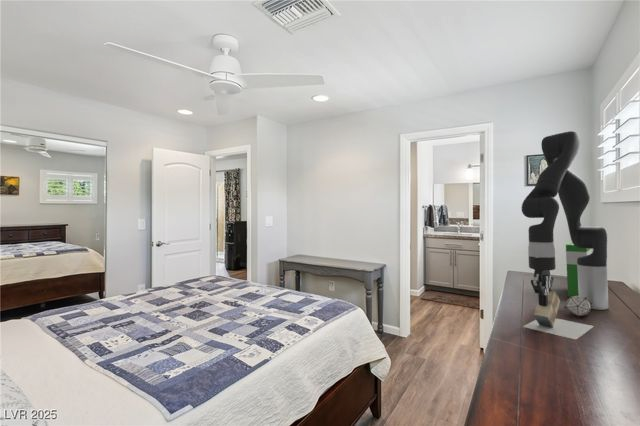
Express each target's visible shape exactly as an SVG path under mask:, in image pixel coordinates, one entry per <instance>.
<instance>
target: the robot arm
mask: <svg viewBox="0 0 640 426" xmlns="http://www.w3.org/2000/svg"><path fill="white" fill-rule="evenodd" d="M540 144H541V150H542V155H543V156H544V159H545V162H546V164H547V167H546V168H544V169H543V170H542V172H540V174H539V175H538V177H537V181H536V184H535V186H534V188H532V190H531V191H530V192H529V193H528V194H527V196H526V197H525V198H524V200H523V202H522V204H521V212H522V215H523V216H524V217H526V218H529V219H542V218H543V219H542V221H541V223H538V224H533V225H530V226H529V227H528V247H527V248H528V252H527V253H528V267H529V269H531V270H534V271H533V279H531V280H530V284H531V287H532V288H533V289H532V290H533V291H534V294H537V296H538V297H537V298H538V300H539V305H540V306H547V305H548V296H547V295H548V294H549V292H550V291H552V286H553V283H554V276H552V275H551V272H550V271H554V270H556V249H555V248H556V247H555V243H554V240H555V239H554V230H555V224H556V220H557V216H558V215H559V211H560V205H559V204H560V203H561V207H562V209H563V211H564V214H565V217H566V222H567V227H568V228H567V229H568V231H569V236H570V239H571V240H570V241H571V242H572V243H573V245H574V246H575V247H578V248H589V249H592V253H591V254H590V255H587V256H582V257H579V258H577V271H578V292H579V296H581V297H583V298H585V297H587V298H586V300H587V301H588V302H589V303H593V304H590V308H591V309H592V310H600V311H601V310H604V311H605V310H608V309H609V286H608V267H607V266H608V265H607V261H608V260H607V259H608V234H607V230H606V229H605V227H603V226H598V225H597V226H594V225H593V226H585V225H582V224H581V217H582V215H583V214H584V211H585V210H586V208H587V206H588V204H589V202H590V194H589V190H588V186H587V184H586V182H585V181H584V180H583V179H582V177H580V176H579V175H577V174H576V173H574V172H573V171H572V170H570V169H569V168H570V167H571V165H572V164H573V162H574V161H575V158H576V157H577V155H578V153H579V150H580V149H581V138H580V136H579V134H578V132H576V131H573V130H572V131H565V132H560V133H555V134H551V135H547V136H545V137H543V139H542V140H541V143H540ZM557 195H558V198H559V200H560V203H559V202H558V200H557V199H556V198H555V197H557Z"/></svg>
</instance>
